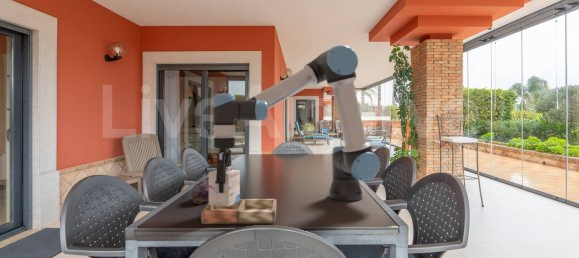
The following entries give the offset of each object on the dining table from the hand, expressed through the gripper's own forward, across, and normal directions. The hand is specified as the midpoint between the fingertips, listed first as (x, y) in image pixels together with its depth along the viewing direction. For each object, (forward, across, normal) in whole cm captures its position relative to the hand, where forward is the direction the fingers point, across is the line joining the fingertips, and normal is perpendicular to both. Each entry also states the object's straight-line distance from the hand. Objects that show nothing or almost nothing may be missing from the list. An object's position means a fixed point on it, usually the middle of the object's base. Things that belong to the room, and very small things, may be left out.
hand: (224, 197), depth 118 cm
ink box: (+2, 0, 0) cm, 2 cm away
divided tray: (+7, 0, +6) cm, 9 cm away
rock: (+7, -21, -13) cm, 26 cm away
